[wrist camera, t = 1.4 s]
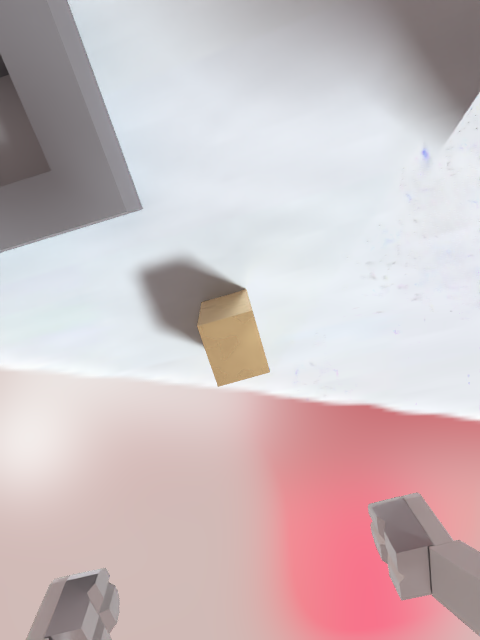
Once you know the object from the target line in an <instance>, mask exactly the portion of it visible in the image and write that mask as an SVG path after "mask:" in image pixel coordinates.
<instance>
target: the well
mask: <svg viewBox="0 0 480 640" xmlns="http://www.w3.org/2000/svg"><path fill="white" fill-rule="evenodd" d="M142 209H143V208H142V205H141V203H140V200H139V197H138V194H137V192H136V189H135V186H134V183H133V181H132V178H131V175H130V172H129V169H128V167H127V164H126V161H125V158H124V156H123V153H122V150H121V147H120V145H119V142H118V139H117V136H116V134H115V131H114V128H113V125H112V123H111V120H110V117H109V114H108V112H107V109H106V106H105V103H104V101H103V98H102V95H101V92H100V90H99V87H98V84H97V81H96V79H95V76H94V73H93V70H92V68H91V65H90V62H89V59H88V57H87V54H86V51H85V48H84V46H83V43H82V40H81V37H80V35H79V32H78V29H77V26H76V24H75V21H74V18H73V15H72V13H71V10H70V7H69V4H68V2H67V0H0V253H1V252H4V251H7V250H10V249H14V248H17V247H20V246H24V245H27V244H30V243H33V242H37V241H40V240H43V239H46V238H50V237H53V236H56V235H60V234H63V233H66V232H69V231H73V230H76V229H79V228H83V227H86V226H89V225H92V224H96V223H99V222H102V221H105V220H109V219H112V218H115V217H119V216H122V215H125V214H128V213H132V212H135V211H138V210H142Z"/></svg>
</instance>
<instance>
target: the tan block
mask: <svg viewBox="0 0 480 640" xmlns="http://www.w3.org/2000/svg"><path fill="white" fill-rule="evenodd" d="M197 328H198V331H199V333H200V336H201V339H202V342H203V345H204V348H205V351H206V353H207V356H208V359H209V362H210V365H211V368H212V370H213V373H214V376H215V379H216V382H217V385H218V387H219V386H222V385H226V384H229V383H233V382H237V381H240V380H244V379H247V378H251V377H255V376H258V375H262V374H265V373H269V372H270V370H269V367H268V363H267V360H266V356H265V353H264V349H263V346H262V342H261V339H260V335H259V332H258V328H257V325H256V321H255V318H254V314H253V311H252V307H251V304H250V300H249V297H248V293H247V290H246V289H245V290H242V291H238V292H235V293H232V294H228V295H225V296H221V297H218V298H214V299H211V300H207V301H204V302H201V307H200V313H199V318H198V324H197Z"/></svg>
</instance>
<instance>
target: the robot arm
mask: <svg viewBox="0 0 480 640" xmlns="http://www.w3.org/2000/svg"><path fill="white" fill-rule="evenodd" d="M368 510H369V514H370V517H371V519H372V521H373V522H372V523H371V530H372V535H373V538H374V542H375V545H376V547H377V549H378V552H379V554H380V556H381V559H382V560H383V561H384V562H386V563H387V564H388V568H389V575H390V578H391V580H392V582H393V584H394V586H395V588H396V590H397V592H398V594H399V596H400V598H401V600H406V599H411V598H416V597H421V596H425V595H431V594H432V596H433V597H434V598H435V599H436V600H438V601H439V602H440V603H441V604H442V605H444V606H445V607H446V608H447V609H448V610H450V611H451V612H452V613H453V614H454V615H455V616H457V617H458V618H459V619H460V620H461V621H462V622H463V623H465V624H466V625H467V626H468V627H469V628H471V629H472V630H473V631H474V632H475V633H476V634H478V635H479V636H480V552H479V551H477V550H475V549H474V548H472V547H470V546H469V545H467V544H465V543H463V542H461V541H460V540H456V541H453V539H452V538H451V536H450V535H449V534H448V532H447V531H446V529H445V528H444V527H443V525H442V524H441V523H440V521H439V520H438V519H437V517H436V516H435V514H434V513H433V511H432V510H431V509H430V507H429V506H428V504H427V503H426V502H425V500H424V499H423V498H422V496H421V495H420V494H418V493H413V494H409V495H405V496H401V497H395V498H391V499H387V500H383V501H379V502H375V503H372V504H369V506H368ZM109 577H110V575H109V573H108V571H107V569H106V568H103V569H98V570H94V571H88V572H84V573H79V574H74V575H70V576H65V577H61V578H57V579H54V580H53V581H52V582H51V584H50V585H49V587H48V590H47V592H46V594H45V597H44V599H43V601H42V603H41V606H40V608H39V610H38V612H37V615H36V617H35V619H34V622H33V624H32V627H31V629H30V631H29V633H28V636H27V638H26V640H112V639H111V637H110V634H109V633H110V632H111V631H112V629H113V628H114V626H115V625H116V624H117V619H118V615H119V595H118V591H117V589H116V587H115V585H113V584H111V583H109V582H108V581H109Z"/></svg>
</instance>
